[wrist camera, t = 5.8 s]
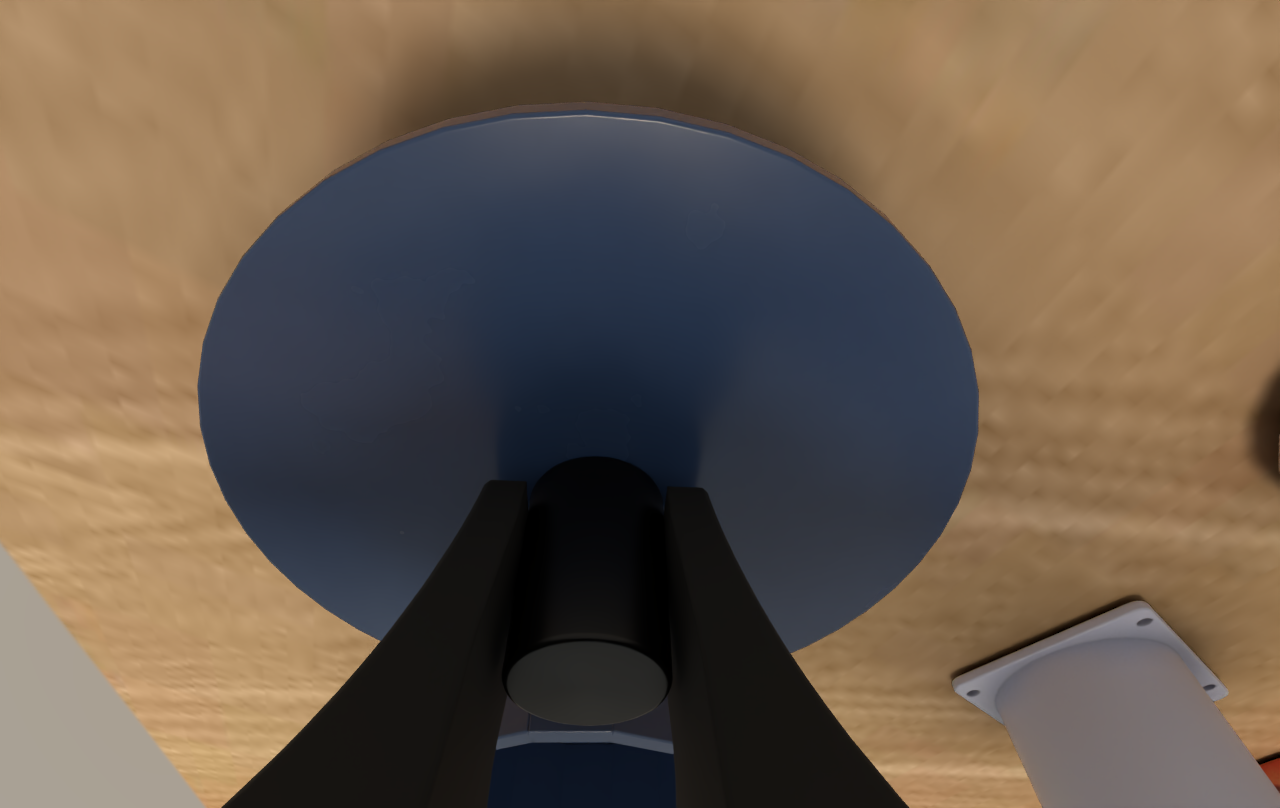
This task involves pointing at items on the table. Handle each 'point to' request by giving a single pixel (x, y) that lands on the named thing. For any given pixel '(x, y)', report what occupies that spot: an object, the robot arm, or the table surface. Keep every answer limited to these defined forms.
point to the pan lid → (588, 383)
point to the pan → (583, 763)
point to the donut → (1279, 453)
